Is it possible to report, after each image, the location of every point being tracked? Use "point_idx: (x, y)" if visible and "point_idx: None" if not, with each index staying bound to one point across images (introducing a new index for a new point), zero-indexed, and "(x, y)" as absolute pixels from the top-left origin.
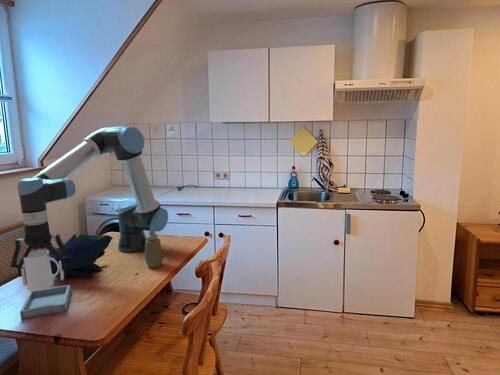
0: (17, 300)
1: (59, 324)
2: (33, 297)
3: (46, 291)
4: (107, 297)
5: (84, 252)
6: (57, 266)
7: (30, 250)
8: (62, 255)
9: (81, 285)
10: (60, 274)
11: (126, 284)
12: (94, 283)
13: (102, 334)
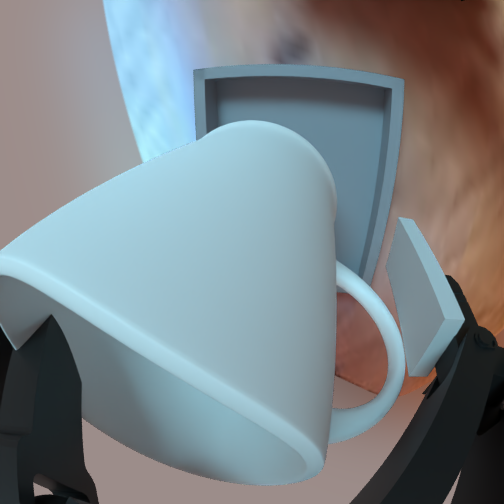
0: (157, 75)
1: (337, 333)
2: (218, 86)
3: (276, 77)
4: (498, 237)
5: None
6: (388, 369)
7: (94, 496)
8: (487, 383)
9: (432, 37)
10: (395, 295)
11: None
12: (482, 59)
13: (405, 391)
